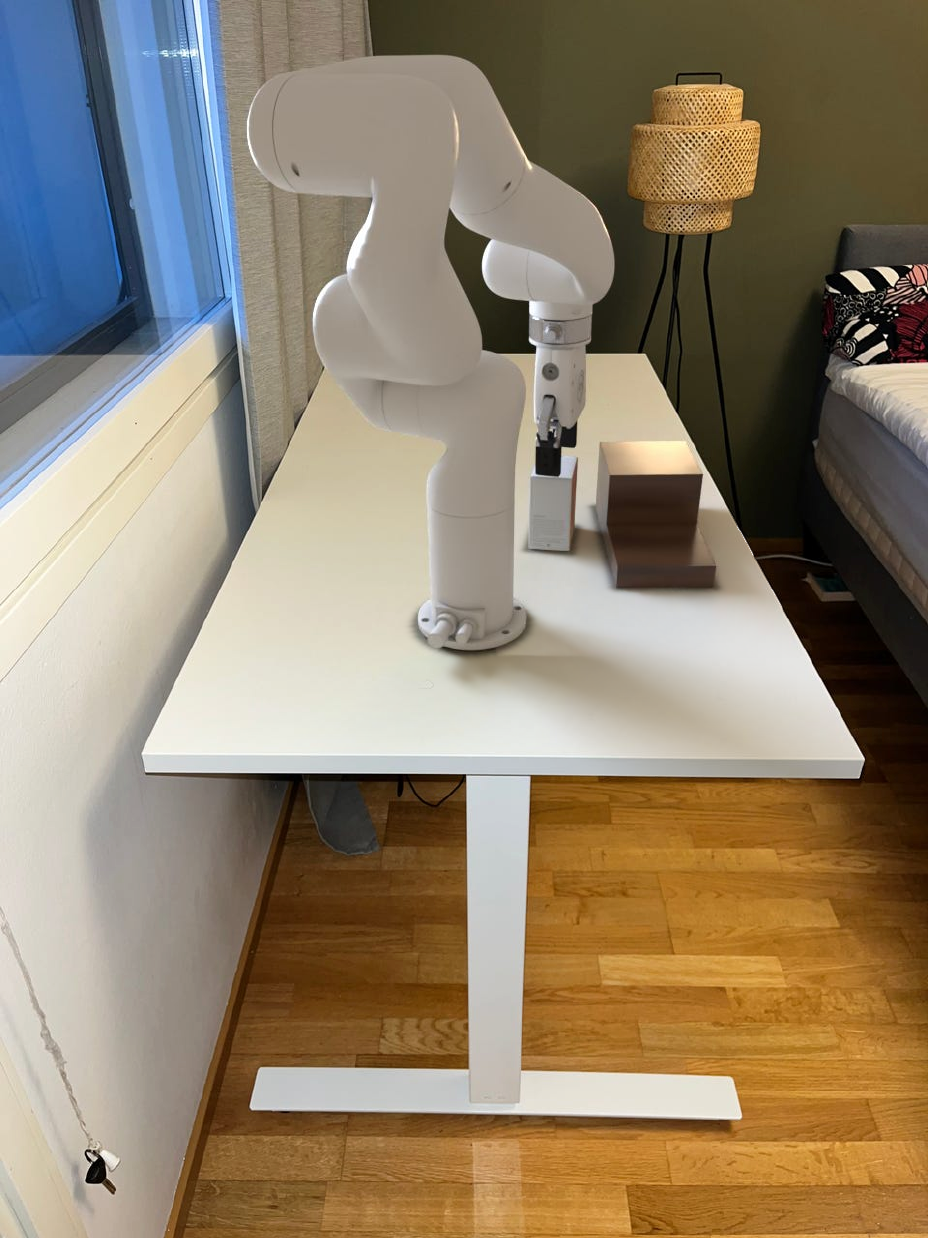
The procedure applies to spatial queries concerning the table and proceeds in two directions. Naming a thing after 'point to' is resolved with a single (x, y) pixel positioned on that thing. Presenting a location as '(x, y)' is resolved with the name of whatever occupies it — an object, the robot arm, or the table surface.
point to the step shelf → (652, 515)
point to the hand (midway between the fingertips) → (556, 460)
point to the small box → (553, 507)
